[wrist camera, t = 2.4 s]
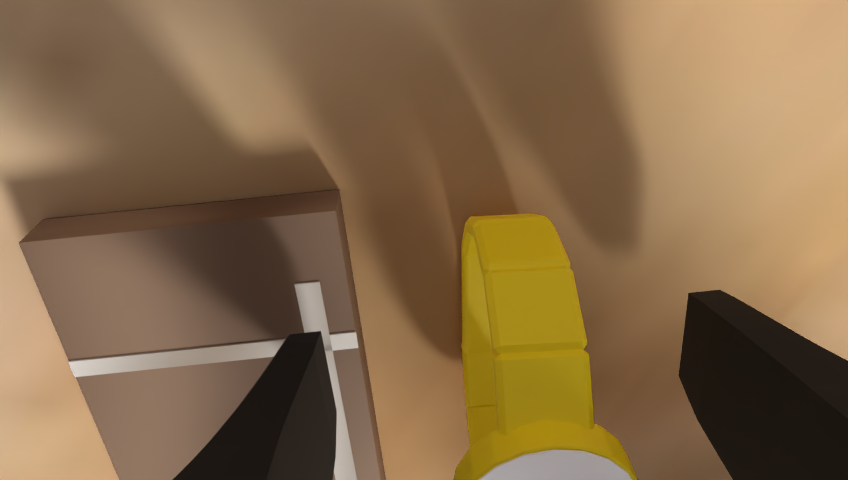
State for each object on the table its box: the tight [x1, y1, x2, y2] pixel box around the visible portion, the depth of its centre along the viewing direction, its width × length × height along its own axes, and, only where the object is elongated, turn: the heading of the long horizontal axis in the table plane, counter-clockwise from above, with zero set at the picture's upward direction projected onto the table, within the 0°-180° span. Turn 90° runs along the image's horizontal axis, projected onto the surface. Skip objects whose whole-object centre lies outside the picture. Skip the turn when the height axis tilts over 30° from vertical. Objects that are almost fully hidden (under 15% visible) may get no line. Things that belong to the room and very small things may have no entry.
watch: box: [454, 213, 638, 480], centre depth 12 cm, size 6×3×6 cm, turn 2°
